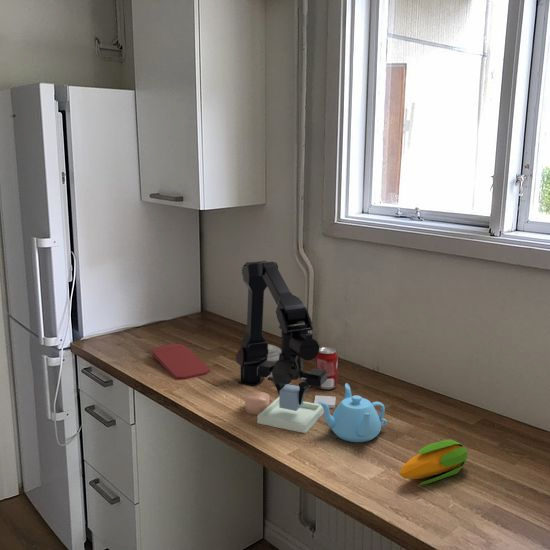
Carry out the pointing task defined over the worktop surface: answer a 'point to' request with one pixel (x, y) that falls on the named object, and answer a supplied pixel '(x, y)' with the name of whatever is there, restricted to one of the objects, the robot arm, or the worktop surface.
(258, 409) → the pink rounded piece
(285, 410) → the tray
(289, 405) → the blue block
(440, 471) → the corn
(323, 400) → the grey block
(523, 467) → the worktop surface
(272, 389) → the worktop surface
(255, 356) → the robot arm
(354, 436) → the teapot
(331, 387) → the soda can
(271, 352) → the flying saucer
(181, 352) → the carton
